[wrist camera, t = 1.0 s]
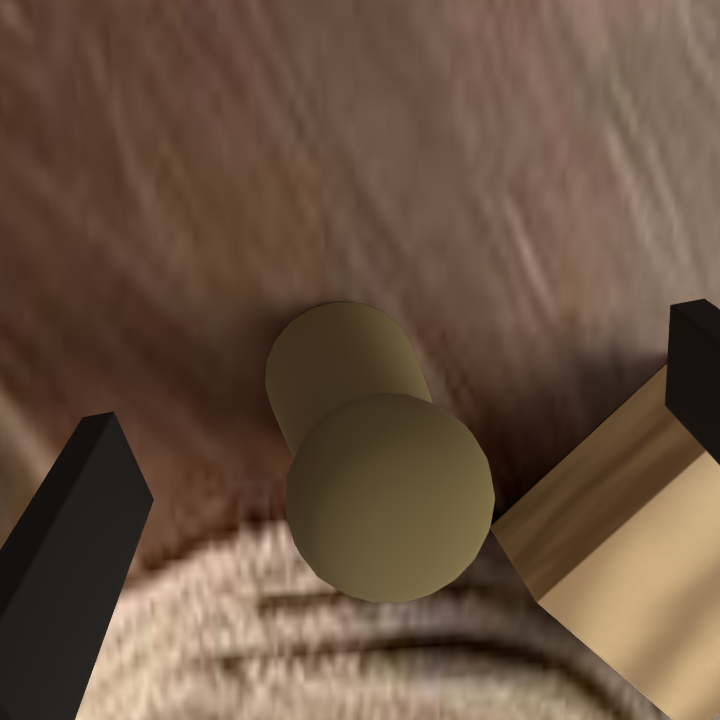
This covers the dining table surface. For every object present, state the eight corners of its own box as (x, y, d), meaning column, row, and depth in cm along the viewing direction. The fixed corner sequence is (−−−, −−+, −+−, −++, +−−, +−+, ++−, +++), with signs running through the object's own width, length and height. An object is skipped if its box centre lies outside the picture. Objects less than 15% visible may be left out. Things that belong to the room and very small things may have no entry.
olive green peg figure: (282, 286, 23) (302, 387, 12) (434, 319, 24) (568, 435, 14) (250, 434, 24) (244, 633, 14) (395, 457, 26) (488, 656, 15)
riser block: (488, 527, 27) (536, 602, 23) (676, 353, 26) (767, 395, 22) (626, 650, 31) (691, 737, 26) (797, 501, 30) (898, 565, 25)
